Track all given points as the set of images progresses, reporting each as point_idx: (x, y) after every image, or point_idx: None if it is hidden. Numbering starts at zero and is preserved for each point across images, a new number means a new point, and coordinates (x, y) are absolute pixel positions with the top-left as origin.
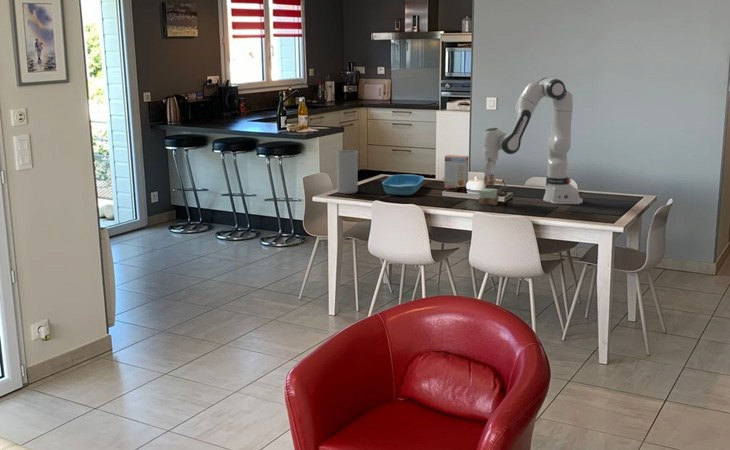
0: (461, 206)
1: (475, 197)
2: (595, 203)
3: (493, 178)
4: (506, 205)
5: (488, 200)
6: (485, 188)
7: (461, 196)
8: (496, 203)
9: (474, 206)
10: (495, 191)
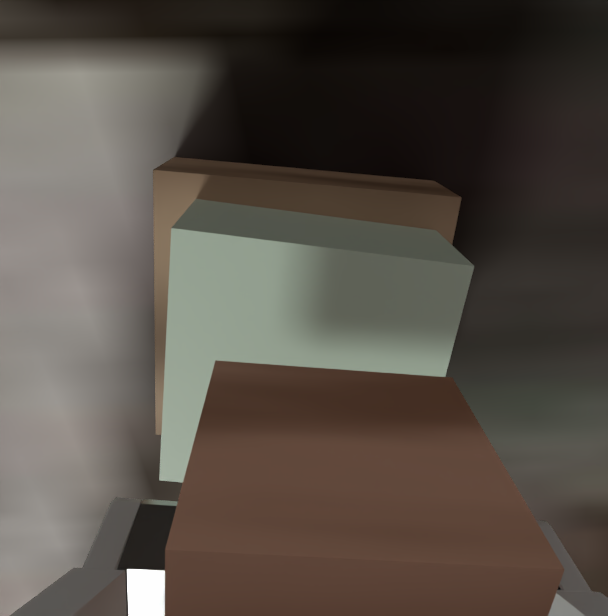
0: None
1: (14, 458)
2: None
3: (395, 479)
4: (444, 11)
5: None
6: (165, 446)
7: (21, 591)
8: (402, 180)
9: (531, 437)
10: (380, 251)
